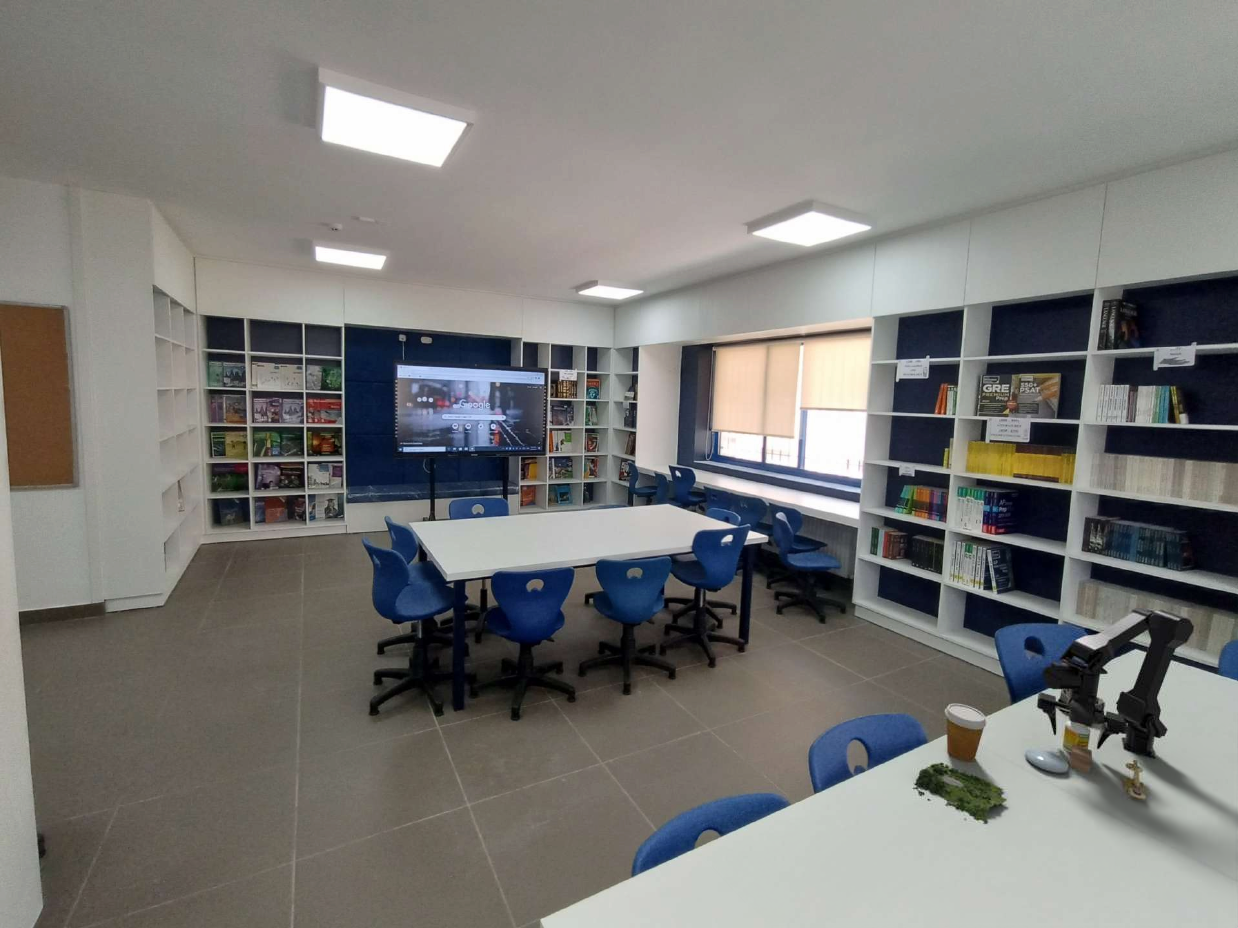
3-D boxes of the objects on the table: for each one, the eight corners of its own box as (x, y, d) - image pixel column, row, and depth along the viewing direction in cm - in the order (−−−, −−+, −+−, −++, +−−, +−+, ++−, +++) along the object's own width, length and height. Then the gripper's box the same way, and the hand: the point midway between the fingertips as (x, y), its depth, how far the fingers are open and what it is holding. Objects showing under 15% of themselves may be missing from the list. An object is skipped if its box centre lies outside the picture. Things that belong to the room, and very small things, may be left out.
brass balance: (1122, 772, 146) (1125, 753, 145) (1141, 778, 144) (1144, 759, 143) (1126, 798, 136) (1129, 778, 135) (1146, 805, 134) (1150, 785, 133)
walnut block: (1069, 759, 151) (1072, 743, 150) (1089, 766, 148) (1091, 750, 148) (1069, 766, 147) (1072, 750, 147) (1089, 773, 145) (1092, 757, 145)
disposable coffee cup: (988, 768, 145) (993, 724, 144) (947, 762, 147) (953, 719, 146) (973, 746, 154) (978, 705, 153) (935, 741, 156) (939, 700, 155)
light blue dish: (1025, 748, 154) (1026, 743, 154) (1067, 762, 149) (1068, 757, 149) (1023, 764, 147) (1024, 759, 147) (1067, 779, 142) (1068, 774, 142)
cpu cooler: (1054, 691, 176) (1069, 684, 182) (1052, 708, 177) (1066, 701, 182) (1095, 707, 168) (1109, 699, 173) (1093, 725, 168) (1106, 717, 173)
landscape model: (900, 794, 137) (900, 774, 137) (947, 768, 148) (947, 749, 148) (973, 833, 123) (973, 811, 123) (1019, 801, 134) (1019, 780, 134)
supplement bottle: (1072, 743, 158) (1077, 711, 157) (1092, 755, 153) (1097, 722, 152) (1057, 745, 157) (1061, 713, 156) (1076, 757, 151) (1081, 724, 150)
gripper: (1040, 686, 152) (1032, 740, 154) (1132, 712, 141) (1123, 770, 142) (1041, 672, 161) (1034, 723, 162) (1128, 695, 149) (1120, 750, 151)
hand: (1075, 741), depth 154 cm, fingers open, 9 cm apart
